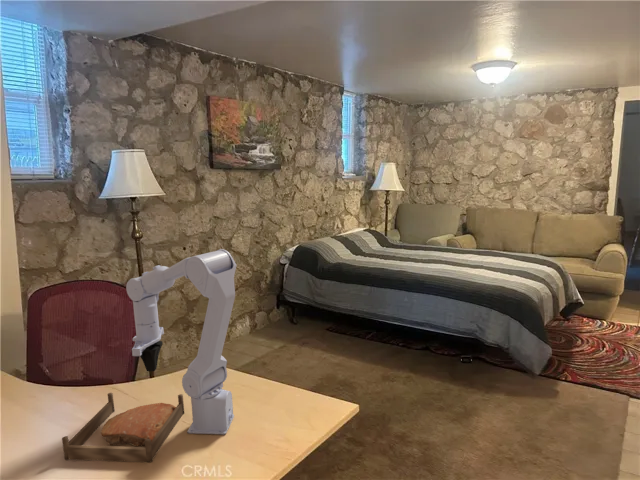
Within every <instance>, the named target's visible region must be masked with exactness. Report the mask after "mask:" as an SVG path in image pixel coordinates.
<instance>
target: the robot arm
mask: <svg viewBox="0 0 640 480" xmlns="http://www.w3.org/2000/svg"><path fill="white" fill-rule="evenodd" d="M237 266H238V265H237V263H236V261H235V260H234V258H233V256H232V255H231V253H230V252H229V251H228V250H226V249H223V248H220V249H217V250H214V251H210V252H206V253H202V254H197V255H193V256H189V257H186V258H184V259H182V260H180V261H177V262H176V263H174V264H173V265H171V266H167V265H166V266H165V265H161V264H158V265H155V266H153V267H152V270H150V271H144V272H143V273H141V276H138V277H134V278H133V277H132V278H130V279H129V280H128V281H127V283H126V286H125V287H126V289H125V290H126V293H127V296H128V297H129V299H130V300H131V301H132V306H133V316H134V325H135V336H134V337H133V338H132V342H134V345H133V347H132V348H131V353H132V355H131V356H132V357H140V359H141V360H142V362H143V365H144V368H145V369H146V372H155V371H156V370H157V369H158V368H157V367H158V362H159V355H160V351H161V348H162V347H163V343H164V342H163V341H162V340H161V339H162V336H163V335H164V334H165V331H164V327H163V326H160V321H159V312H158V302H159V300H160V298H159V297H160V296H159V295H160V293H161V292H163V291H167V290H169V289H170V288H172V287H173V286H174V285H175V282H176V280H178V279H181V278H183V277H185V279H187V280H188V279H189V281H190V282H191V283H192V284H193V286H194V287H195V288H196V289H197V290H198V291H199V293H200V294H201V295H202V296H203V297H205V298H207V299H208V301H207V307H206V313H205V317H204V321H203V325H202V331H201V336H200V341H199V344H198V345H199V346H198V350H197V355H196V357H195V358H194V359H193V360H192V361H191V362H190V364H189V365H188V366H187V370H186V372H185V373H184V374H183V376H182V379H181V383H182V389H183V390H184V392H185V394H186V395H187V396H188V397H190V401H191V412H192V413H191V414H192V423H191V424H190V426H189V428H188V429H187V431H186V432H187V434H197V435H198V434H200V435H203V434H204V435H226V434H227V432H229V431H228V430H229V428H230V426H231V425H232V422H233V420H234V418H235V414H234V407H233V393H232V391H230V390H226V389H223V387H224V384H223V383H224V382H225V381H226V380H227V377H228V371H227V364H228V360H227V359H226V358H225V357H224V356H223V355H222V354H223V349H224V347H225V343H226V342H225V341H226V337H227V332H228V329H229V325H230V324H229V323H230V320H231V316H232V312H233V311H232V310H233V308H234V302H235V299H236V288H235V286H236V285H235V274H236V271H237V270H236V269H237Z"/></svg>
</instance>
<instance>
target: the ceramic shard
mask: <svg viewBox="0 0 640 480" xmlns="http://www.w3.org/2000/svg"><path fill="white" fill-rule="evenodd" d="M176 407H177V406H175V405H173V404H171V403H165V402H157V403H151V404H150V403H149V404H146V405H139V406H136V407H134V408H130V409H127V410H126V411H124V412H121V413H118V414H116V415H114V416H113V417H110V418H109V419H107V420H106V421H105V423H103V426H102V427H101V432H100V435H101V437H102V438H104V439H105V440H106V443H107V444H108V445H109V446H119V445H120V446H122V445H129V444H130V445H133V447H145V440H146V439H151V442H152V440H153V439H154V438H155V436H156V435H157V433H158V432H159V431H160V429H161V428H162V426H163V425H164V424H165V422H166V421H167V419H168V418H169V417H170V415H171V414H172V412H173V411H174V410H175V408H176Z"/></svg>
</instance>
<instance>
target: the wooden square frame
mask: <svg viewBox="0 0 640 480" xmlns="http://www.w3.org/2000/svg"><path fill="white" fill-rule="evenodd" d="M177 399H178V404H177V405H176V406H175V407H176V408H175V410H174V411H173V412H172V414H171V415H170V417H169V418H168V419H167V421H166V422H165V424H164V425H163V426H162V428H161V429H160V431H159V432H158V433H157V435H156V436H155V438H154V439H153V440H152V442H151V439H146V440H145V447H143V446H119V445H109V446H108V445H85V442H87V440H88V439H89V438H90V437H91V436H92V435H93V434H94V433H95V432H96V431H97V430H98V429H99V428H100V427H101V426H102V424H104V422H106V421H107V420H108V418H109V417H110V416H111V415H112V414H114V413H115V403H114V393H113V392H109V393H107V400H108V401H107V403H105V404H104V406H103V407H102V408H101V409H100V410H99V411H98V412H97V413H96V414H95V415H94V416H93V417H92V418H91V419H90V420H89V421H88V422H87V423H86V424H85V425H84V426H83V427H81V429H80V430H79V431H78V432H77V433H76V434H75V435H74V436H73V437H72V438H70V440H69V436H68V435H67V436H66V435H65V436H62V438H61V441H62V448H63V456H64V460H65V461H69V460H70V461H71V460H72V461H73V460H78V461H105V462H131V463H132V462H135V463H136V462H137V463H139V462H140V463H148V464H149V463H152V462H153V460H154V458H155V457H156V456H157V453H158V452H159V450H160V449H161V448H162V446H163V445H164V443H165V442H166V441H167V439H168V437H169V435H170V434H171V432H173V430H174V428H175V426H176V425H177V424H178V422H179V421H180V419H181V417H182V416H183V415H184V414H185V405H184V404H185V403H184V394H182V393H179V394H178V395H177Z"/></svg>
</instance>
